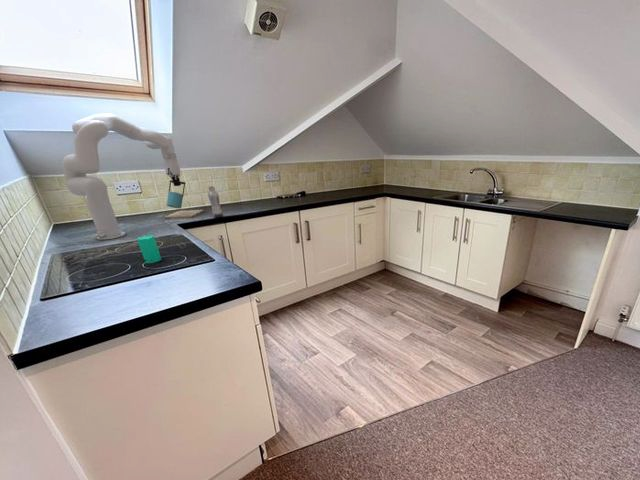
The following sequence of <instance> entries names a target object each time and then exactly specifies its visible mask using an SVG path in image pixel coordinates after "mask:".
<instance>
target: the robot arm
mask: <svg viewBox="0 0 640 480" xmlns="http://www.w3.org/2000/svg"><path fill="white" fill-rule="evenodd" d="M71 128H72V132H73V133H74V135H75V136H74V139H73V144H74V153H69V154H67V155H66V156H64V157H63V160H62V169H63V176H64V181H65V185H66V188H67V189H68V192H70V193H72V194H73V195H76V196H82V197H83V196H85V197H86V199H85V200H86V207H87V209H88V211H89V214H90V217H91V219H92V221H93V223H94V226H95V229H96V231H95V232H96V233H94V234H92V235H91V238H92V239H96V240H98V241H105V240H113V239H117V238H118V239H119V238H122V237H124V236H126V232H125V231H122V230H121V228H120V225H119V223H118V220H117V218H116V214H115V211H114V209H113V206H112V204H111V201H110V197H109V193H108V191H109V190H108V187H107V184H106V183H105V181H104V180H103V179H101V178H100V177H96V176H91V175H95V174H97V173H99V172H100V170H101V164H100V156H99V150H98V145H99V142H100V141H101V140H102V139H104V138H105V137H107V136H108V134H109V132H114V133H116V134H118V135H121V136H123V137H126V138H128V139H129V140H132V141H133V140H134V141H139V142H144V145H145V146H146V147H147V148H148V149H151V150H160V152H161V156H162V159H163V166H164V171H165V174H166V176H168V177H169V178H171V179H170V180H173V183H172V184H173V186H174V187H180V186H182V184H179V183H178V181H180V182H181V180H180V176H181V174H182V173H181V168H180V165H179V161H178V160H177V159H178V158H177V155H176V154H177V153H176V151H175V147H174V143H173V140H172V137H171V138H170V136H169V137H167V136H168V135H167V136H166V135H165V134H162V133H160V132H158V131H156V130H153V129H151V128H147V127H144V126H140V125H137V124H135V123H132V122H130V121H129V120H127V119H125V118H123V117H121V116H119V115H117V114H114V113H109V112H107V113H105V112H104V113H95V114H92V115H90V116H86V117H83V118H81V119H78V120H76V121H74V122H73V123H72V125H71ZM88 175H90V176H88Z"/></svg>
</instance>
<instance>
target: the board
mask: <svg viewBox="0 0 640 480" xmlns="http://www.w3.org/2000/svg"><path fill="white" fill-rule="evenodd" d="M204 212H205V209H187V210H185V209H183V210H178V211H175V212H173V213H170V214H167V215H165V216H163V218H164V219H188V218H190V219H191V218H194V217H196V216H198V215H200V214H203V213H204Z"/></svg>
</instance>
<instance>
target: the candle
mask: <svg viewBox="0 0 640 480" xmlns="http://www.w3.org/2000/svg"><path fill="white" fill-rule="evenodd" d="M136 240H137V243H138V245H139V246H138V247H139V249H140V251H141V254H142V257H143V260H144V262H145V263H146V264H153V263H158V262H160V261H162V256H161V254H160V251H159V247H158V244H157V241H156V238H155V236H154V234H147V235H145V233H143V236H139V237H137V238H136ZM145 260H146V261H145ZM150 260H152V261H150Z"/></svg>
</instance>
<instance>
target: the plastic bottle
mask: <svg viewBox="0 0 640 480" xmlns="http://www.w3.org/2000/svg"><path fill="white" fill-rule="evenodd" d="M207 197H208V200H209V203H210V206H211V215H212V216H213V218H217V219H218V218H222V217H223V216H224V213H223V209H222V207H221V202H220V195H219V193H218V192H217V191H216V187H215V186H208V193H207Z"/></svg>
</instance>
